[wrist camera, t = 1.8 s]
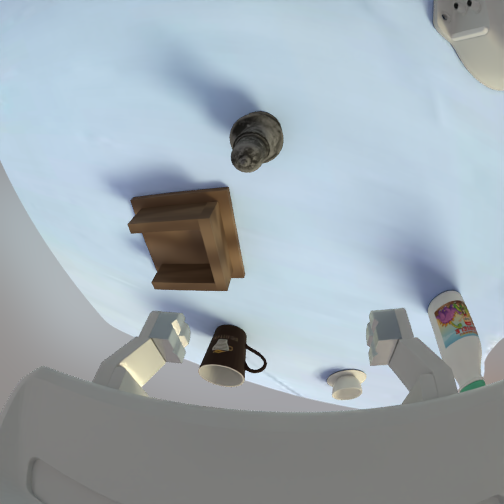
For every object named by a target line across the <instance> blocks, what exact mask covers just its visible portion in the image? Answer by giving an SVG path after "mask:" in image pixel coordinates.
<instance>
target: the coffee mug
mask: <svg viewBox="0 0 504 504" xmlns="http://www.w3.org/2000/svg"><path fill="white" fill-rule="evenodd" d="M246 349H248V350H250V351H251V352H253V353H255V354H256V355H258V356H259V357H261V359H262V360H263V361H264V365H263V366H262V367H261V368H260V369H258V370H253V369H250V368H249V367H248V366H247V363H246V362H245V359H246ZM266 365H267V362H266V359H265V358H264V357H263V356H262V355H261V354H260V353H259V352H257V351H256V350H254V349H252V348H250V347H249V346H248V345H247V344H246V333H245V332H244V331H243V330H242V329H241V328H239V327H237V326H233V325H221V326H219V327H218V328H217V329H216V331H215V333H214V336H213V338H212V340H211V342H210V345H209V347H208V349H207V352H206V354H205V356H204V358H203V361H202V363H201V365H200V368H199V371H198V372H199V374H200V376H201V377H202V378H203V379H205V380H206V381H208V382H210V383H213V384H216V385H219V386H226V387H235V386H239V385H241V384H242V383H244V380H245V370H247V371H249V372H251V373H259V372H262V371H263V370H264V369H265V368H266Z"/></svg>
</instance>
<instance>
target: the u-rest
mask: <svg viewBox="0 0 504 504" xmlns="http://www.w3.org/2000/svg"><path fill="white" fill-rule="evenodd" d="M130 201H131V204H132V207H133V209H134V212H135V216H134V217H133V219H132V220H131V221H130V222H129V223H128V227H129V230H130V232H131V234H133V233H142V234H143V237H144V239H145V242H146V245H147V247H148V250H149V252H150V255H151V257H152V260H153V262H154V265H155V267H156V270H157V273H156V275H155V277H154V279H153V281H152V284H153V286H154V289H161V290H196V291H228V287H229V283H230V280H231V278H244V276H245V271H244V266H243V261H242V256H241V250H240V245H239V240H238V234H237V229H236V224H235V218H234V213H233V208H232V202H231V197H230V192H229V187H223V188H211V189H201V190H191V191H181V192H172V193H164V194H156V195H148V196H140V197H133V198H132V199H131V200H130Z"/></svg>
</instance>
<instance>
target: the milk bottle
mask: <svg viewBox="0 0 504 504" xmlns="http://www.w3.org/2000/svg"><path fill="white" fill-rule="evenodd" d="M428 315H429V319H430V322H431V325H432V328H433V331H434V334H435V337H436V341H437V344H438V347H439V350H440V354H441V357H442V360H443V361H444V362H445V363H446V364H447V365H448V366H449V367H450V368H451V369H452V372H453V375H454V378H455V379H456V381H457V382H458V384H459V387H460V388H459V391H460V393H461V392H465V391H468V390H472V389H475V388H479V387H482V386H486V385H485V382H484V378H483V377H482V376H481V356H482V349H481V343H480V339H479V336H478V334H477V331H476V328H475V326H474V323H473V321H472V318H471V316H470V314H469V311H468V309H467V307H466V305H465V302H464V300H463V298H462V296H461V295H460V293H458V292H456V291H446V292H443V293H441V294H439V295H438V296H436V297H435V298H434V299H433V300H432V301H431V303H430V305H429V307H428Z"/></svg>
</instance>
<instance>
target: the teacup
mask: <svg viewBox="0 0 504 504" xmlns="http://www.w3.org/2000/svg"><path fill="white" fill-rule="evenodd" d="M365 379H366V374H365V373H363V372H361V371H358V370H345V371H340V372H337V373H334V374H332V375H331V376H329V377H328V379H327V383H328V385H330V386H332V387H333V392H332V397H333V398H335V399H338V400H349V399H354V398H356V397H358V396H360V395H361V394H362V388H361V383H362V382H364V381H365Z"/></svg>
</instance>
